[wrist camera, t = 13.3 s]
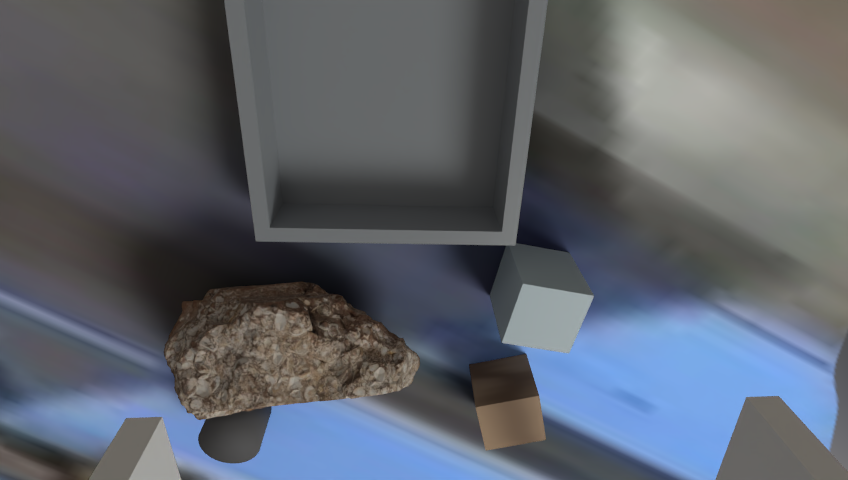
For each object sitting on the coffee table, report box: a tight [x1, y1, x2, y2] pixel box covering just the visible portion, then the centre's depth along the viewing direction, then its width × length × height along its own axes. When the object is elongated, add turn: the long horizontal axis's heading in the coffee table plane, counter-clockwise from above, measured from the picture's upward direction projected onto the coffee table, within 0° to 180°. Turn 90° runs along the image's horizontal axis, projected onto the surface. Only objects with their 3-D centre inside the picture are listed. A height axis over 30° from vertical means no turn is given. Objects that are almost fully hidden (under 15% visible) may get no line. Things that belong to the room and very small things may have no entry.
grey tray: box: [224, 0, 548, 246], centre depth 30 cm, size 17×26×4 cm, turn 178°
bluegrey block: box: [490, 243, 594, 353], centre depth 38 cm, size 5×5×6 cm
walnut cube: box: [469, 354, 546, 450], centre depth 44 cm, size 5×5×5 cm
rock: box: [164, 281, 420, 420], centre depth 38 cm, size 18×10×10 cm, turn 98°
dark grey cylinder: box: [198, 406, 271, 463], centre depth 45 cm, size 5×5×4 cm
